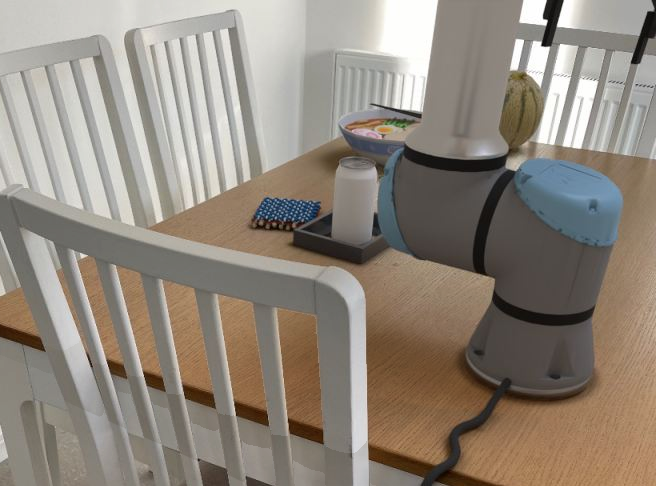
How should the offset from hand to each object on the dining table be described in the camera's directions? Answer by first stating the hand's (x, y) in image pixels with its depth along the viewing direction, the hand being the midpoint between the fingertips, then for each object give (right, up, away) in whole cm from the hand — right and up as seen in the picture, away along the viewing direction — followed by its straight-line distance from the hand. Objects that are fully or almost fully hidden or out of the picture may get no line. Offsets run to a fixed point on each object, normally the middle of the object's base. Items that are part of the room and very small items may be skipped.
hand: (589, 55), depth 122 cm
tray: (-34, -24, +11) cm, 43 cm away
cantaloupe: (+1, +9, +51) cm, 52 cm away
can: (-34, -24, +11) cm, 43 cm away
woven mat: (-45, -18, +18) cm, 51 cm away
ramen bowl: (-23, +2, +42) cm, 48 cm away
